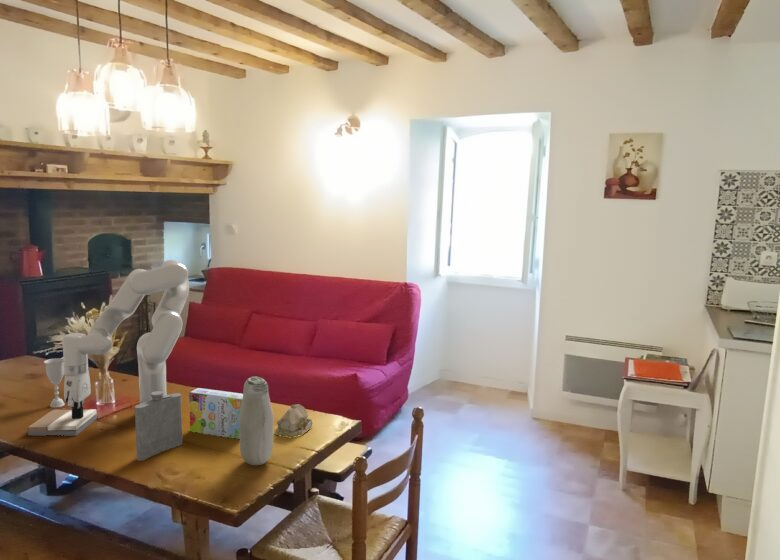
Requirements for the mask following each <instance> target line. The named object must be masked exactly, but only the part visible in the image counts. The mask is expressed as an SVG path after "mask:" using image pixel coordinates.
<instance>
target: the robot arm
mask: <svg viewBox="0 0 780 560" xmlns="http://www.w3.org/2000/svg"><path fill="white" fill-rule="evenodd" d="M126 277H127V278H126V279H125V280H124V282H123V283H122V285H121V286H120V287H119V289H118V291H117V292H116V294H115V295H114V296H113V298H112V300H111V301H110V303H109V304H108V305H107V306H106V307H105V308H104V309H103V311H102V312H101V314H100V315H99V316H98V317H97V319H96V321H95V322H94V324H93V325H92V327H91V328H90V329H89V331H88V333H87V334H86V333H81V332H74V333H73V332H72V333H68V334H65V335H64V336H63V338H62V354H63V357H62V359H63V361H64V383H63V384H64V385H63V386H64V387H63V395H64V396H63V398H64V403H67V407H68V408H70V410H72V419H81V418H82V417H83V410H84V405H85V399H86V398H87V397H89V396H90V395H91V393H92V389H91V377H90V371H89V358H88V357H89V355H104V354H105V355H106V354H107V353H108V352H110V351H111V350H112V347H113V340H112V336H113V334H114V333H115V331H116V330H117V329H118V327H119V326H120V324H121V323H122V322H124V320H126V319H127V318H130V317H131V316H132V315H134V313H135V312H136V310H137V309H138V307H139V305H140V303H141V302H142V301H143V299H144V297H145V296H147V295H152V294H157V293H160V292H163V291H164V292H163V295H162V297H161V299H160V301H159V303H158V305H157V307H156V309H155V311H154V313H153V314H152V316H151V325H152V329H151V331H150V332H146V333H144V334H143V335H141V336H140V337H139V338H138V341H137V344H136V355H137V363H138V367H137V368H138V386H139V387H138V388H139V389H138V390H139V391H138V392H139V404H141V403H144V402H146V401H149V400H152V396H151V393H152V392H155V391H162V392H163V395H162V396H164V395H168V394H167V363H166V362H167V359H168V358H169V356H170V355H171V353H172V351H173V349H174V347H175V345H176V343H177V341H178V339H179V336H180V335H181V333H182V330H183V323H184V322H183V318H182V317H181V313H182V311H183V309H184V307H185V305H186V302H187V300H188V298H189V294H190V281H189V270H188V268H187V266H186V265H184V264H183V263H181V262H180V261H177V260H174V259H166V260H165V261H163V263H162V264H161V265H160V267H157V268H152V269H149V270H148V269H147V270H146V269H143V268H136V269H133V270H132V271H131V272H130V273H129V274H128V276H126Z"/></svg>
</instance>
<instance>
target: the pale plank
mask: <svg viewBox="0 0 780 560" xmlns="http://www.w3.org/2000/svg"><path fill="white" fill-rule="evenodd" d="M68 410H69V411H68V412H66V413H65V414H64V415H62V416H61V417H60V418H58V419H57V420H55V421H54V422H53V423H51V424H50V425H49V426H47V429H48V431H52V430H77V429H78V428H79V427H80V426H82V425H83V424H84V423H85V422H87V421H88V420H89V419H90V418H91V417H93V416H94V415H95V414H98V412H97V411H98V410H97V409H92V408H91V409H83V417H82V418H81V419H72V409H68Z"/></svg>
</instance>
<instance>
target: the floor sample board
mask: <svg viewBox="0 0 780 560" xmlns="http://www.w3.org/2000/svg"><path fill="white" fill-rule="evenodd" d="M69 410H70V409H52V410H50V411H49V412H48V413H46V414H45V415H43V416H42V417H40V418H39V419H37V420H36V421H34V422H33V423H32V424H30V425H29V426H27V434H28V435H29V436H30V435H31V436H43V437H45V436H46V435H58V436H59V435H61V437H66V436H67V437H76V436H78V435H79V434H81V433H82V431H84V430H85V429H86V428H87V427H89V426H90V425H91V424H93V422H95V421H96V420H97V419H98V418H99V414H98V413H96V414H95V415H94V416H93V417H91V418H90V419H89V420H88V421H87V422H85V423H84V424H83V425H82V426H80V427H79V428H78V429H77V430H52V431H48V429H47V426H49V425H50V424H51V423H53V422H54V421H55V420H57V419H58V418H60V417H61V416H62V415H64V414H65V413H66V412H68V411H69ZM97 417H98V418H97ZM28 435H27V436H28ZM63 435H64V436H63ZM58 436H57V437H58ZM46 437H47V436H46Z"/></svg>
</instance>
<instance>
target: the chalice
mask: <svg viewBox="0 0 780 560" xmlns="http://www.w3.org/2000/svg"><path fill="white" fill-rule="evenodd" d="M43 363H44V364H45V373H46V376H47V378H48V380H49V381H50V382H51V384H52V385H54V388H53V390H54V393H53V394H54V395H55V397H54V399H52V400H51V402H50V405H49V407H50V408H52V409H53V408H54V409H56V408H60V407H63V406H65V405H66V403H65V401H64V400H63V398H60V397H59V394H60V391H59V384H60V383H61V381H62V379H63V377H64V376H65V374H64V361H63V358H59V357H58V358H49V359H47V360H44V361H43Z"/></svg>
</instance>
